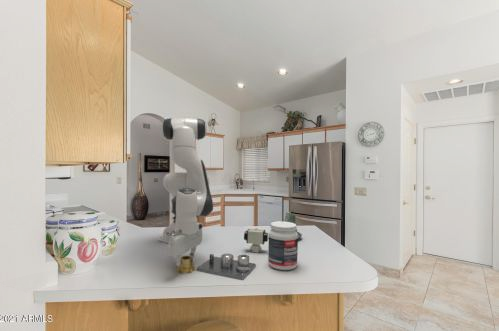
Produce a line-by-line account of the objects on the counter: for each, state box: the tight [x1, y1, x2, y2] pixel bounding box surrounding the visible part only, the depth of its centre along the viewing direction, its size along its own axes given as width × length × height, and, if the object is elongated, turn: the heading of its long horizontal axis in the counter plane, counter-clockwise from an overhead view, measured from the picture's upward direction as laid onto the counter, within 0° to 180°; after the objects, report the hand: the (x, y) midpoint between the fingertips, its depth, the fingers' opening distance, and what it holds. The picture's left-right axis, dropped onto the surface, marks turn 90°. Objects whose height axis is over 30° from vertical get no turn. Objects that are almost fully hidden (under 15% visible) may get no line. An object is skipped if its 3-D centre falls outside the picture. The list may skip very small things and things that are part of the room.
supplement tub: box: [267, 220, 299, 271], centre depth 113 cm, size 13×13×18 cm
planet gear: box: [176, 255, 197, 274], centre depth 106 cm, size 7×7×5 cm
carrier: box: [196, 253, 257, 281], centre depth 108 cm, size 21×14×7 cm, turn 68°
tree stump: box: [268, 212, 303, 240], centre depth 154 cm, size 18×20×18 cm
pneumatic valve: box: [243, 227, 269, 254], centre depth 130 cm, size 6×12×12 cm, turn 78°
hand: (185, 261), depth 106 cm, fingers open, 8 cm apart
